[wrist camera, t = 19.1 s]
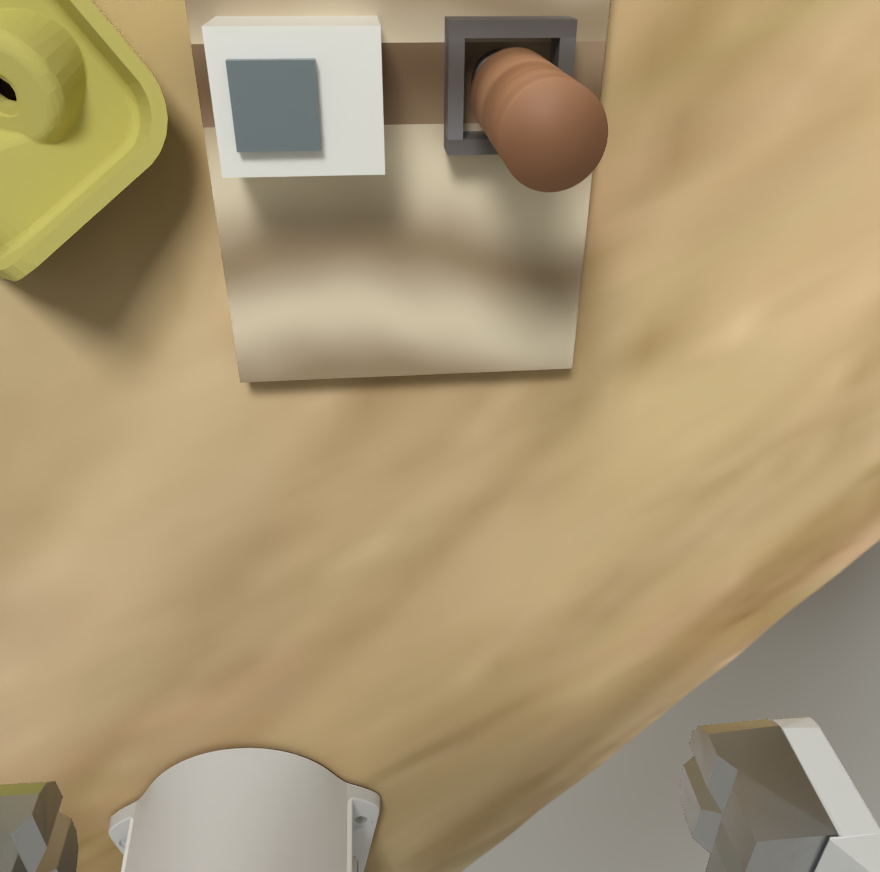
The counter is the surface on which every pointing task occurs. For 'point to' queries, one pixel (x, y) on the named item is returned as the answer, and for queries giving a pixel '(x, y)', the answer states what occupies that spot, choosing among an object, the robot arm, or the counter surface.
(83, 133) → the plastic component
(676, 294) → the counter surface
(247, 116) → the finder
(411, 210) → the beige flat block
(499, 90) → the brown rounded cylinder
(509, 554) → the counter surface
